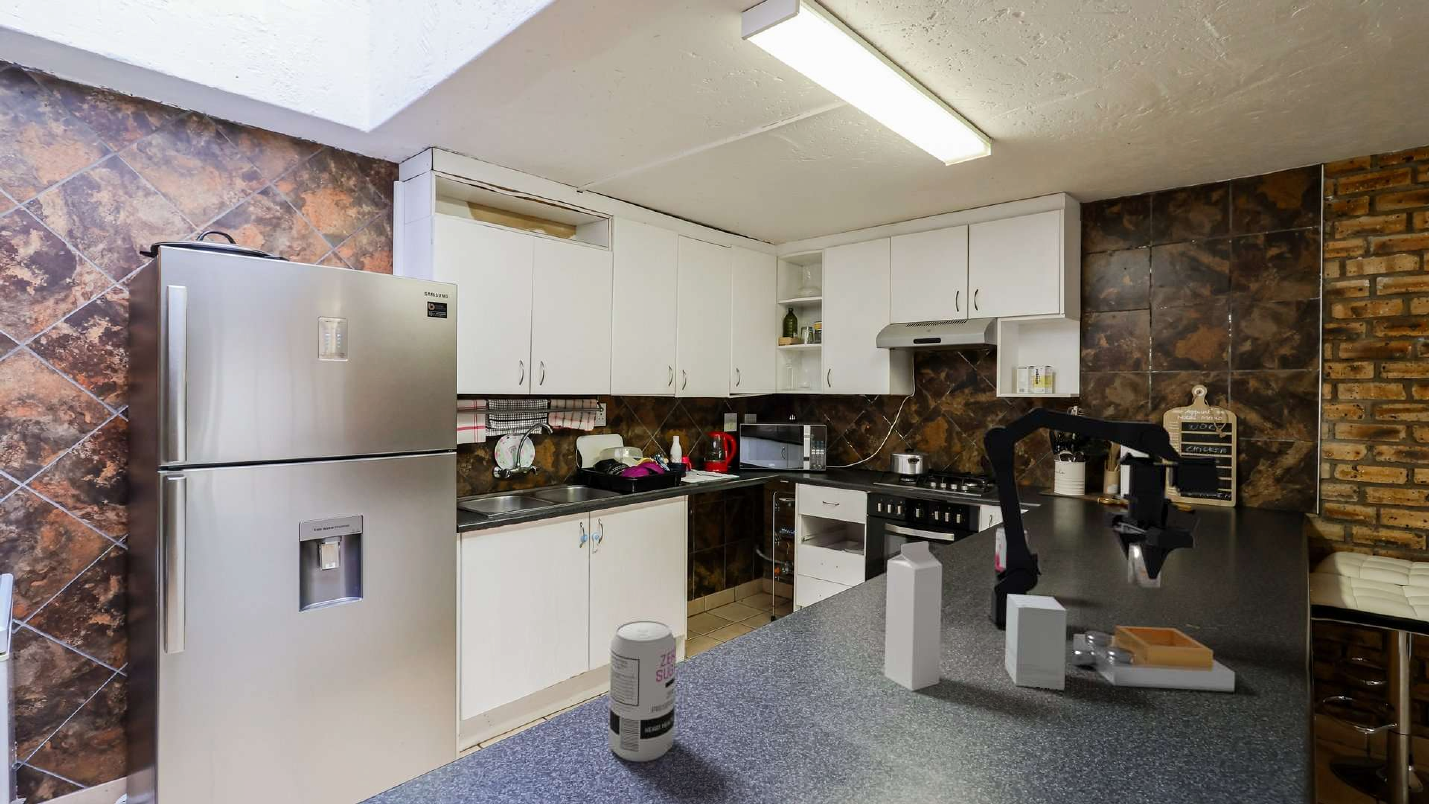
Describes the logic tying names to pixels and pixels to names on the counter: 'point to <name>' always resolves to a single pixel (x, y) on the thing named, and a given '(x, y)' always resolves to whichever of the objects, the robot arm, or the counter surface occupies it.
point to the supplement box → (1035, 641)
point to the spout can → (1139, 568)
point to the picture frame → (1152, 659)
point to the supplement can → (642, 690)
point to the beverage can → (1002, 550)
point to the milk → (913, 617)
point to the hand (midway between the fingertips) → (1143, 575)
